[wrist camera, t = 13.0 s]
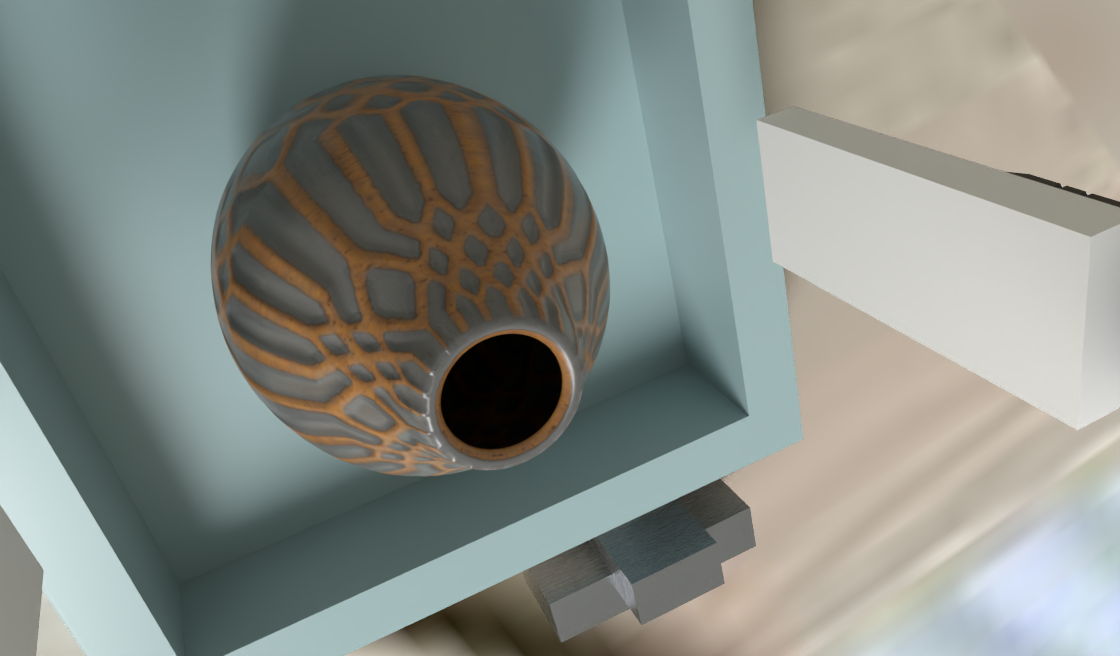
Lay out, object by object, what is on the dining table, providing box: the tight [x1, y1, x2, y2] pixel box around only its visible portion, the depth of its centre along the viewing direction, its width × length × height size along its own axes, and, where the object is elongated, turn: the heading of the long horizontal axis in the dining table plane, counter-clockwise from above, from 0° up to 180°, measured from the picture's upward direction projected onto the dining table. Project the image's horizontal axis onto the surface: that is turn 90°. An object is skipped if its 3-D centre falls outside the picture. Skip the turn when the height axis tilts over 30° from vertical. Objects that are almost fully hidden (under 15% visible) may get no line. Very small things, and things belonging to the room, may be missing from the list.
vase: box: [210, 75, 610, 476], centre depth 17 cm, size 7×7×9 cm
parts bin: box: [0, 0, 803, 656], centre depth 19 cm, size 16×16×4 cm
